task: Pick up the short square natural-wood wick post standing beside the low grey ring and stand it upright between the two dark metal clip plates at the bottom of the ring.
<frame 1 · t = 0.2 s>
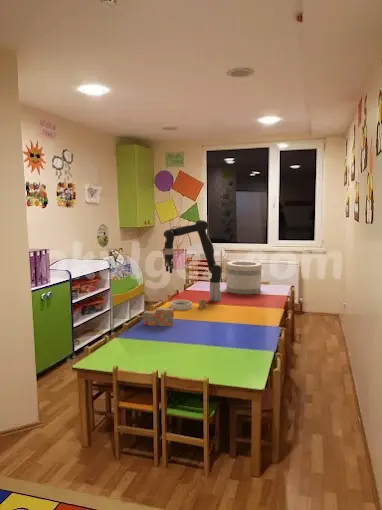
hand: (168, 272, 360), 29 cm above the table, tool pointing down, fingers open, 8 cm apart
grey ring: (181, 307, 358), on the table
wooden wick: (202, 307, 357), on the table
storage basket: (243, 290, 425), on the table
stack of blocks: (158, 324, 310), on the table
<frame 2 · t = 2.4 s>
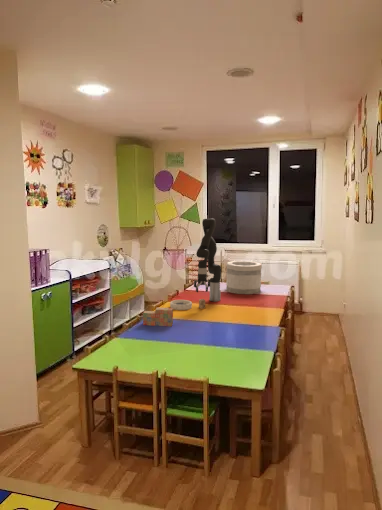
hand: (201, 291, 355), 14 cm above the table, tool pointing down, fingers open, 8 cm apart
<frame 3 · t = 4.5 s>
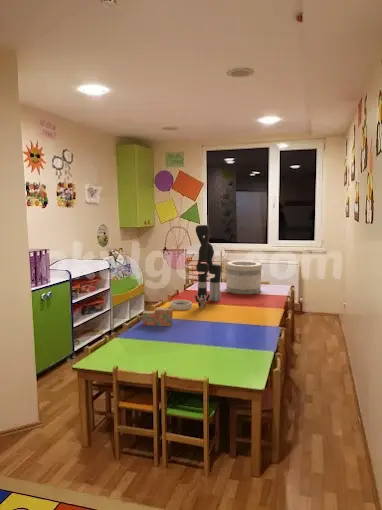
hand: (202, 306, 356), 1 cm above the table, tool pointing down, fingers closed on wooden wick, 4 cm apart
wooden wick: (202, 307, 357), on the table, touching gripper
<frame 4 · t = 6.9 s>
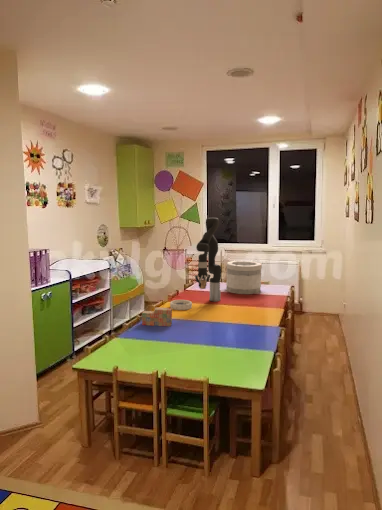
hand: (202, 286, 354), 18 cm above the table, tool pointing down, fingers closed on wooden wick, 4 cm apart
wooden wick: (202, 288, 354), point 17 cm above the table, touching gripper
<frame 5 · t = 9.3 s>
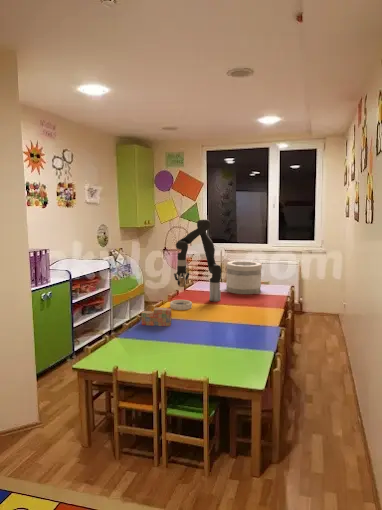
hand: (181, 284, 355), 19 cm above the table, tool pointing down, fingers closed on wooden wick, 4 cm apart
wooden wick: (181, 286, 355), point 18 cm above the table, touching gripper
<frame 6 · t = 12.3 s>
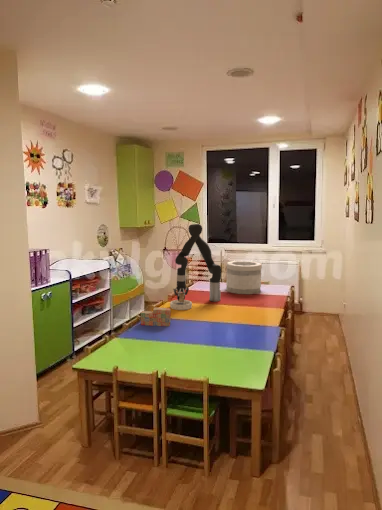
hand: (181, 299, 357), 6 cm above the table, tool pointing down, fingers closed on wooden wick, 4 cm apart
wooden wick: (181, 301, 357), point 5 cm above the table, touching gripper
when the fingers open (3 cm above the table, at t = 14.2 s): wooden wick stays where it is, resting on grey ring.
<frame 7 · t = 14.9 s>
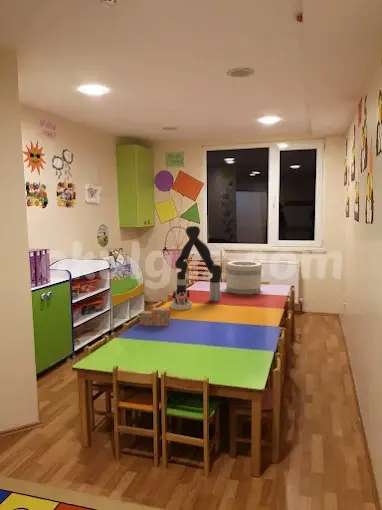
hand: (181, 302, 357), 4 cm above the table, tool pointing down, fingers open, 8 cm apart
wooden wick: (181, 305, 358), point 1 cm above the table, touching grey ring
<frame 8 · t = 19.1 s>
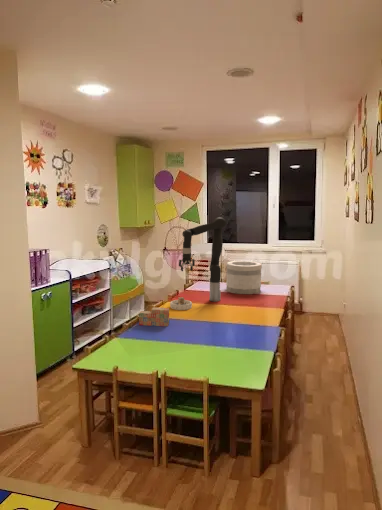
hand: (186, 270, 372), 28 cm above the table, tool pointing down, fingers open, 8 cm apart
at the end: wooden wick 0.1 cm off-centre on the grey ring, point 1.2 cm above the grey ring's base; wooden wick tilted 0°; the gripper is holding nothing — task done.
